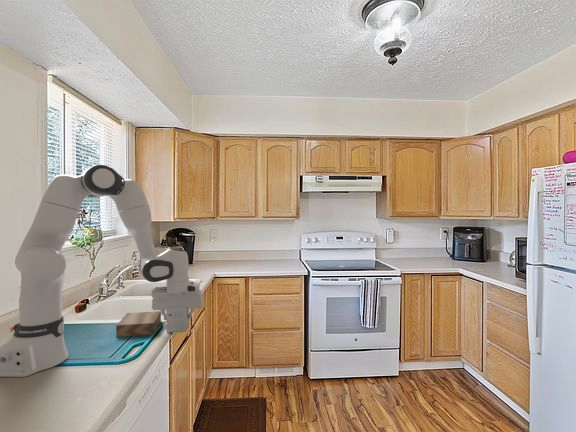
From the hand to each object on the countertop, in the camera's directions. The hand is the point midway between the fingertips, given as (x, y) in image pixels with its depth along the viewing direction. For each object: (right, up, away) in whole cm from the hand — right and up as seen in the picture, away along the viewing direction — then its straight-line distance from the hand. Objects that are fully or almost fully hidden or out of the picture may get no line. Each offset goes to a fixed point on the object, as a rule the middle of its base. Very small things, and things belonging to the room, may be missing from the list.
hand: (178, 318), depth 130 cm
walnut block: (-17, -5, +1) cm, 17 cm away
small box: (0, -5, 0) cm, 5 cm away
